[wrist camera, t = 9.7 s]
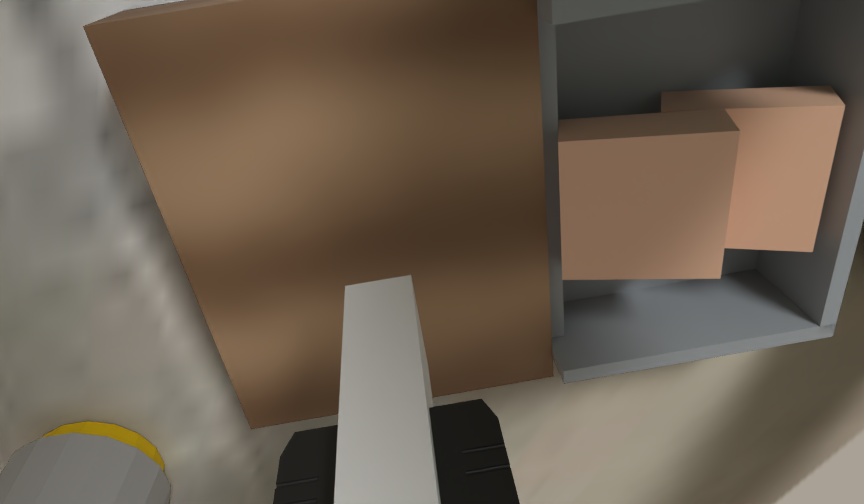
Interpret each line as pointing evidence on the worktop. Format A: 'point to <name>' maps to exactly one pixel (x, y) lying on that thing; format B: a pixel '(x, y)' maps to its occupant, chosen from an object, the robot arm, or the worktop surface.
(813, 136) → the tile
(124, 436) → the soap bottle
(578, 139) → the tile
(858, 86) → the tray
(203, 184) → the walnut board
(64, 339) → the worktop surface
